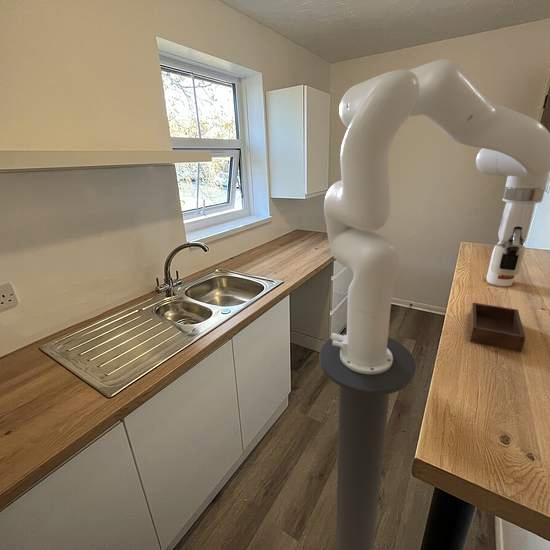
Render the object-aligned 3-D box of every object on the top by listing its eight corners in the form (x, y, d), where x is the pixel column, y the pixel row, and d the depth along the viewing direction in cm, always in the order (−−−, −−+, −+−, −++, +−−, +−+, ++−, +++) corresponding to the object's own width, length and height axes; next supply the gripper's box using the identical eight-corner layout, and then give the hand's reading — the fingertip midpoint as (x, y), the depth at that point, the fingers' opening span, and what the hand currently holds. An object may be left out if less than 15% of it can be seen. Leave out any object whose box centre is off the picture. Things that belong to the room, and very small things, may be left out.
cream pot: (491, 273, 79) (496, 248, 76) (490, 265, 83) (495, 241, 81) (519, 277, 76) (527, 250, 73) (517, 268, 80) (524, 243, 78)
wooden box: (470, 341, 79) (473, 327, 77) (470, 315, 90) (472, 302, 88) (521, 352, 73) (525, 337, 72) (514, 322, 85) (517, 309, 83)
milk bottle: (485, 284, 107) (497, 230, 99) (486, 276, 113) (498, 224, 105) (512, 288, 103) (527, 232, 95) (512, 280, 109) (526, 226, 101)
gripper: (501, 189, 80) (487, 252, 87) (506, 200, 67) (489, 274, 74) (537, 189, 77) (520, 255, 84) (550, 201, 63) (528, 279, 70)
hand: (506, 263), depth 79 cm, fingers closed on cream pot, 6 cm apart
